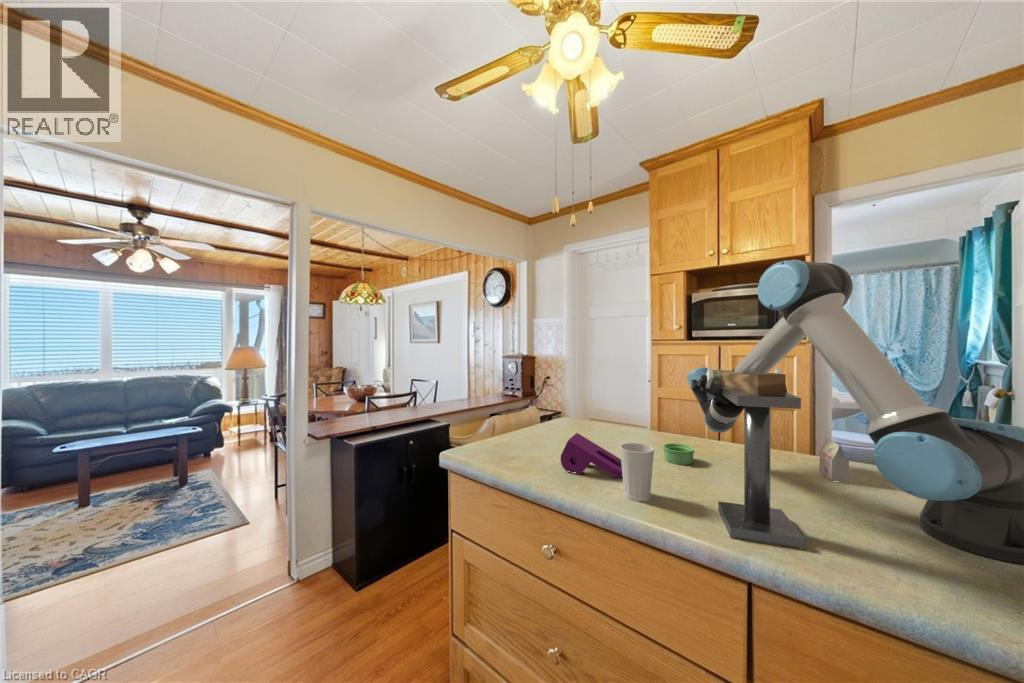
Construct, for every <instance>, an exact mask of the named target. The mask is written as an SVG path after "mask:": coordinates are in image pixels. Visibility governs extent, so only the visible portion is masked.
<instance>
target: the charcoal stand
mask: <svg viewBox="0 0 1024 683" xmlns="http://www.w3.org/2000/svg"><path fill="white" fill-rule="evenodd" d="M722 395H723V396H724V397H726V398H727V399H729V400H730V401H731V402H733V403H734V404H736V405H737V406H744V409H743V411H744V413H743V414H744V415H743V416H744V421H743V422H744V423H743V424H744V425H743V426H744V428H743V429H744V431H743V433H744V438H743V439H744V443H743V444H744V445H743V446H744V449H743V450H744V455H743V456H744V458H743V459H744V461H743V464H744V467H743V468H744V469H743V471H744V473H743V474H744V476H743V477H744V478H743V480H744V482H743V483H744V484H743V485H744V486H743V487H744V489H743V491H744V492H743V493H744V494H743V495H744V497H743V498H744V499H743V500H744V501H743V502H744V504H741V503H736V502H735V503H734V502H733V503H732V502H727V501H720V500H718V501H717V511H718V513H719V515H720V518H721V517H722V518H721V520H722V523H723V524H724V526H726V527H725V528H726V532H727V533H729V534H728V536H729V535H730V536H729V538H730V537H732V539H736V538H738V539H737V540H742V539H744V540H743V541H750V542H756V543H762V544H767V543H768V544H769V545H775V546H780V545H781V546H782V547H786V546H788V547H787V548H793V547H795V548H794V549H799V548H803V549H802V550H806V538H805V537H804V535H803V534H802V533H801V532H800V530H799V529H798V528H797V527H796V525H795V524H794V523H793V522H792V520H790V518H789V517H788V516H787V514H786V513H785V512H784V511H783V510H782V509H780V508H779V509H778V508H771V408H773V409H774V408H775V409H790V410H791V409H793V410H795V409H796V410H802V407H801V406H802V398H801V397H799V396H797V395H794V394H792V393H788V392H787V393H786V396H778V395H755V394H751V393H749V392H748V391H744V390H740V389H737V388H733V387H729V386H722Z"/></svg>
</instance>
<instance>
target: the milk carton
mask: <svg viewBox="0 0 1024 683" xmlns="http://www.w3.org/2000/svg"><path fill="white" fill-rule="evenodd" d="M820 473H821V474H820ZM819 474H820V475H822V476H823V475H824V476H823V477H824V478H826V477H827V478H828V479H827V478H826V479H827V480H829V479H830V480H831V481H830V480H829V481H830V482H832V481H839V482H849V483H850V461H849V459H848V457H847V456H846V454H845V452H844V450H843V447H842V445H841V444H840V443H839V444H838V443H836V442H835V441H833V440H831V439H829V438H826V439H825V443H824V445H823V446H822V448H821V450H820V452H819ZM839 482H838V483H839Z"/></svg>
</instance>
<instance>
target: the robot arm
mask: <svg viewBox="0 0 1024 683" xmlns="http://www.w3.org/2000/svg"><path fill="white" fill-rule="evenodd" d="M758 282H759V283H758V286H757V289H756V290H757V292H756V293H757V297H758V300H759V302H760V303H761V305H763V306H764V307H765V308H767V309H769V310H772V311H778V312H779V314H780V315H781V316H782V317H780V319H779V320H778V321H777V322H776V323H775V324H774V325H773V327H772V328H771V329H770V330H769V331H768V332H767V333H766V334H765V335H764V336H763V337H762V338H761V339H760V340H759V341H758V342H757V343H756V345H755V346H753V348H752V349H751V350H750V351H749V352H748V353H747V354H746V355H745V357H743V359H742V360H741V361H739V363H737V365H736V366H735V367H734V368H733V369H732V370H731V371H734V372H738V373H744V374H749V373H770V372H771V370H772V369H773V368H774V367H776V365H778V364H779V363H780V362H781V361H782V360H783V359H784V358H785V357H786V356H787V355H789V353H790V352H791V351H792V350H793V349H794V348H795V347H797V346H798V345H799V344H800V343H801V342H802V341H803V340H804V339H805V338H806V337H807V338H808V340H809V342H810V343H811V344H812V345H813V347H814V348H815V349H816V351H817V352H818V353H819V355H820V356H821V358H823V360H824V361H825V363H826V364H827V365H828V367H829V368H830V369H831V371H832V372H833V373H834V375H835V376H836V378H837V379H838V380H839V382H840V383H841V384H842V386H843V387H844V389H845V390H846V391H847V392H848V394H849V395H850V397H851V398H852V399H853V401H854V402H855V404H857V406H858V407H859V409H860V410H861V411H862V413H863V414H864V415H865V416H866V419H867V420H868V421H869V422H870V424H869V428H868V430H867V435H868V436H869V438H870V439H871V441H872V442H873V443H874V445H875V446H874V453H873V461H874V464H875V466H876V468H877V470H878V471H879V473H880V474H881V475H882V477H884V479H886V481H888V482H889V483H890V484H891V485H893V486H894V487H895V488H897V489H898V490H899V491H902V492H904V493H906V494H908V495H910V496H911V495H912V496H913V497H916V498H918V499H922V500H926V502H925V504H924V505H923V507H922V509H921V511H920V512H919V516H918V518H919V519H918V522H919V523H918V524H919V525H918V526H919V527H920V529H921V530H922V531H923V532H925V533H926V534H927V535H929V536H931V537H932V538H935V539H936V540H938V541H940V542H942V543H945V544H947V545H950V546H953V547H955V548H958V549H960V550H964V551H967V552H969V553H973V554H976V555H980V556H983V557H986V558H990V559H994V560H999V561H1004V562H1009V563H1014V564H1022V565H1024V427H1022V426H1018V425H1011V424H1004V423H999V422H992V421H991V422H990V421H983V420H975V419H970V418H961V417H960V418H958V417H953V416H952V417H951V416H950V415H949V413H948V412H947V411H946V410H945V409H940V408H937V407H933V406H930V405H928V404H926V403H925V402H924V401H923V399H922V398H921V397H920V396H919V394H917V392H915V390H914V389H913V388H912V386H911V385H910V384H909V383H908V381H906V379H905V378H904V377H903V376H902V375H901V373H900V372H899V371H898V370H897V369H896V368H895V366H894V365H893V364H892V363H891V361H890V360H889V359H888V358H887V357H886V356H885V355H884V353H883V352H882V351H881V350H880V349H879V348H878V346H877V345H876V344H875V342H873V340H872V339H871V338H870V337H869V335H868V334H867V333H866V332H865V331H864V329H862V327H860V325H859V324H858V323H857V321H855V319H854V318H853V317H852V316H851V314H849V312H848V311H847V310H846V309H845V307H844V306H845V305H846V304H848V301H849V300H850V298H851V295H852V293H853V289H854V283H853V278H852V276H851V275H850V273H849V272H848V271H847V270H846V269H845V268H843V267H841V266H840V265H837V264H835V263H834V264H833V263H830V262H815V261H806V260H799V259H790V260H782V261H779V262H775V263H773V264H772V265H770V266H769V267H768V268H766V270H765V271H764V273H763V274H762V275H761V276H760V279H759V281H758ZM713 370H714V369H713V366H708V367H704V366H702V367H698V368H694V370H691V371H690V372H689V373H688V374H687V376H686V380H687V383H688V385H689V387H690V389H691V391H692V393H693V395H694V397H695V398H696V400H697V402H698V404H699V406H700V408H701V411H702V412H703V414H704V422H705V424H706V427H707V428H708V429H709V430H710V431H712V432H714V433H717V434H718V433H719V434H720V433H723V434H724V433H726V432H728V431H729V430H731V429H732V428H733V427H734V425H735V423H736V421H737V420H738V418H739V417H740V415H741V414H742V412H743V411H744V406H737V405H736V404H734V403H733V402H731V401H730V400H729V399H727V398H726V397H724V396H723V395H722V386H725V385H719V384H715V383H713V382H712V380H713ZM773 373H779V374H783V373H782V369H781V368H779V367H776V369H775V370H774V371H773ZM787 388H788V387H786V393H788V389H787Z"/></svg>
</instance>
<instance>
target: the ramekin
mask: <svg viewBox="0 0 1024 683" xmlns="http://www.w3.org/2000/svg"><path fill="white" fill-rule="evenodd" d="M663 450H664V460H665V461H666V462H668V463H670V462H671V464H673V463H674V465H679V464H680V465H681V466H684V465H685V466H686V465H691V464H692V463H693V460H694V454H695V448H694V447H692V446H691V445H688V444H682V443H674V442H673V443H672V442H671V443H665V444H663Z"/></svg>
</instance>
